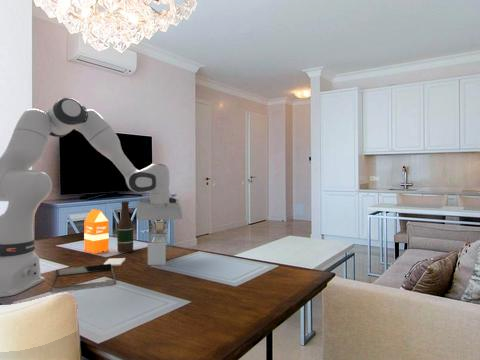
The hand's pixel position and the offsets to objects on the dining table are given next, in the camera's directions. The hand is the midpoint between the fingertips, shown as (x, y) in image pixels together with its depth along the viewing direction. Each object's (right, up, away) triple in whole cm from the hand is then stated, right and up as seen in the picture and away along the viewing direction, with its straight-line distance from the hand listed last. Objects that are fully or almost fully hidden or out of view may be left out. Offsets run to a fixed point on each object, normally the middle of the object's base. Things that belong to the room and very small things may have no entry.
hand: (160, 229), depth 155 cm
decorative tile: (-19, -14, -34) cm, 41 cm away
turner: (0, -2, -3) cm, 3 cm away
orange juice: (-33, -12, +11) cm, 37 cm away
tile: (+2, -12, -14) cm, 19 cm away
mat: (-17, -12, -11) cm, 24 cm away
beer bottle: (-19, -12, +10) cm, 25 cm away
